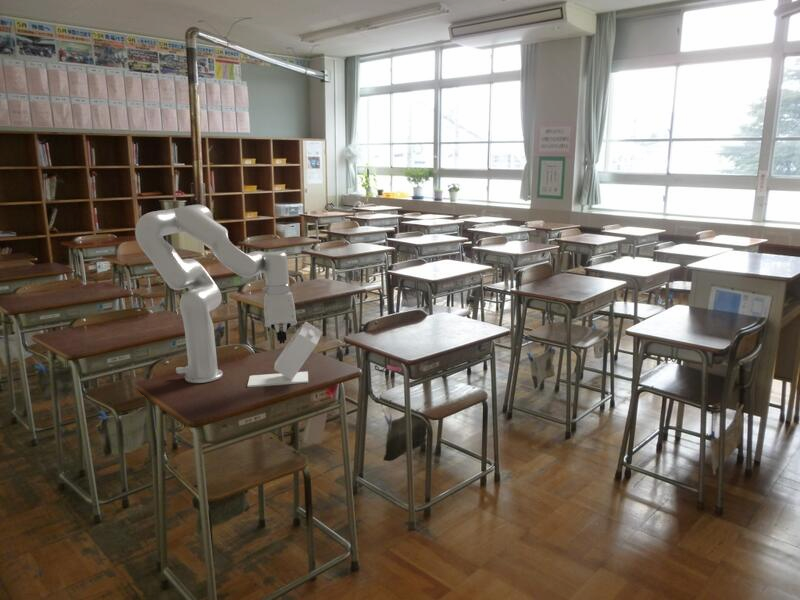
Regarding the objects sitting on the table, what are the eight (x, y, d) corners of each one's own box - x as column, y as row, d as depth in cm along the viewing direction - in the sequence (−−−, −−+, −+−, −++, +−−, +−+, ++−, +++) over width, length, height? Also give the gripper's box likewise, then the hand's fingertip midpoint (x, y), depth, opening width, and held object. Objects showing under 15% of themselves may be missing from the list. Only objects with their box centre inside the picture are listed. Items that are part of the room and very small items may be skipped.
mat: (247, 387, 203) (247, 385, 203) (250, 377, 213) (249, 375, 213) (308, 382, 206) (308, 381, 206) (307, 373, 216) (307, 371, 216)
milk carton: (274, 363, 212) (305, 318, 210) (291, 373, 214) (322, 329, 212) (273, 370, 205) (305, 324, 204) (291, 380, 207) (323, 335, 206)
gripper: (254, 293, 198) (258, 347, 202) (300, 290, 200) (304, 343, 204) (256, 288, 206) (260, 341, 210) (300, 285, 208) (304, 337, 212)
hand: (282, 342), depth 207 cm, fingers closed
